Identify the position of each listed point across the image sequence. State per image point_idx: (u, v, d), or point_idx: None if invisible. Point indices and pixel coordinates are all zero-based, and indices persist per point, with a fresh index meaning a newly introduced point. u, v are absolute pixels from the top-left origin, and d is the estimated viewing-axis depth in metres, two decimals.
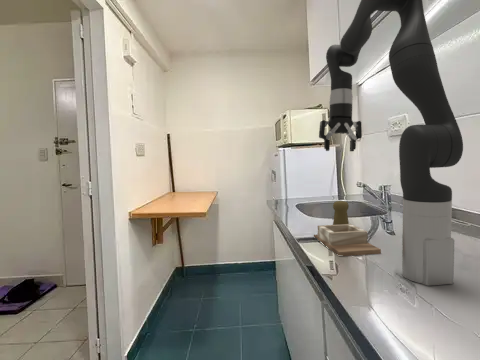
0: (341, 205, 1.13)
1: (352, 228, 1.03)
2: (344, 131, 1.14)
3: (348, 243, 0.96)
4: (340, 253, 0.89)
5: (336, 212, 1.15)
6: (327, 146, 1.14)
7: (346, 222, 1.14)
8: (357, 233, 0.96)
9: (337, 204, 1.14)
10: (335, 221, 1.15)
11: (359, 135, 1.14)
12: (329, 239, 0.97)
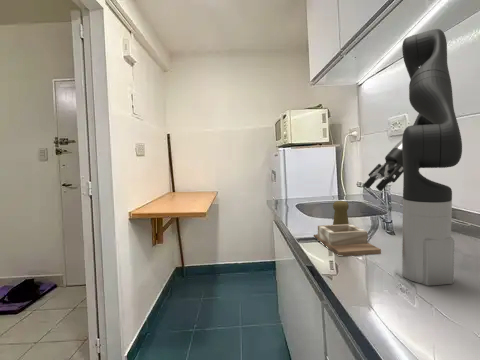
0: (341, 205, 1.13)
1: (352, 228, 1.03)
2: (384, 172, 1.16)
3: (348, 243, 0.96)
4: (340, 253, 0.89)
5: (336, 212, 1.15)
6: None
7: (346, 222, 1.14)
8: (357, 233, 0.96)
9: (337, 204, 1.14)
10: (335, 221, 1.15)
11: (389, 175, 1.10)
12: (329, 239, 0.97)
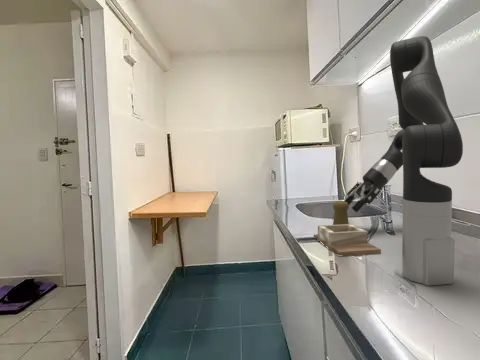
0: (341, 205, 1.13)
1: (352, 228, 1.03)
2: (360, 192, 1.15)
3: (348, 243, 0.96)
4: (340, 253, 0.89)
5: (336, 212, 1.15)
6: None
7: (346, 222, 1.14)
8: (357, 233, 0.96)
9: (337, 204, 1.14)
10: (335, 221, 1.15)
11: (365, 197, 1.10)
12: (329, 239, 0.97)
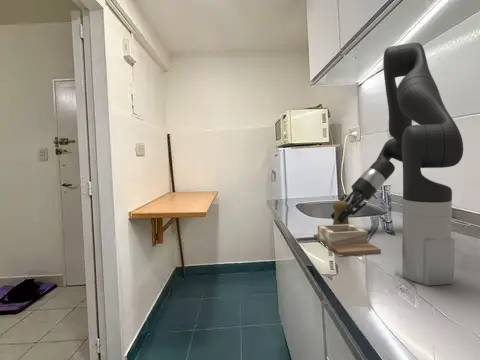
0: (341, 205, 1.13)
1: (352, 228, 1.03)
2: None
3: (348, 243, 0.96)
4: (340, 253, 0.89)
5: (336, 212, 1.15)
6: None
7: (346, 222, 1.14)
8: (357, 233, 0.96)
9: (337, 204, 1.14)
10: (335, 221, 1.15)
11: (349, 208, 1.11)
12: (329, 239, 0.97)
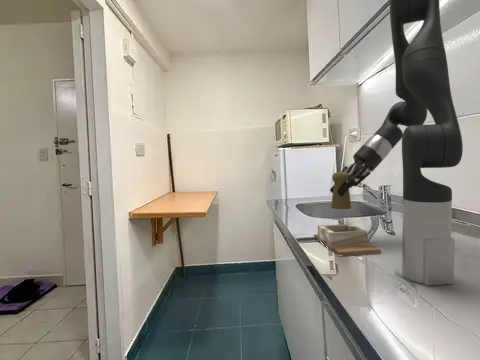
0: (342, 176, 0.99)
1: (352, 228, 1.03)
2: None
3: (348, 243, 0.96)
4: (340, 253, 0.89)
5: (336, 184, 1.00)
6: None
7: (347, 195, 1.00)
8: (357, 233, 0.96)
9: (337, 175, 0.99)
10: (335, 195, 1.01)
11: (351, 178, 0.97)
12: (329, 239, 0.97)
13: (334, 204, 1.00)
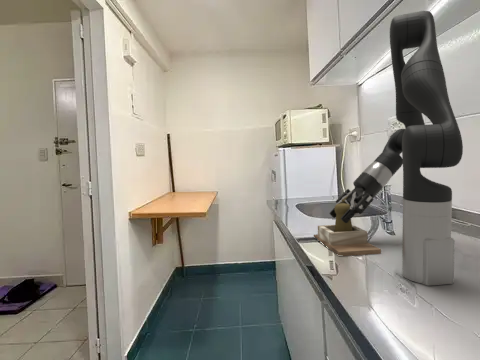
0: (343, 208, 0.99)
1: (352, 228, 1.03)
2: (351, 200, 1.00)
3: (348, 243, 0.96)
4: (340, 253, 0.89)
5: (338, 216, 1.01)
6: None
7: (349, 227, 1.00)
8: (357, 233, 0.96)
9: (339, 207, 1.00)
10: (337, 226, 1.01)
11: (356, 205, 0.95)
12: (329, 239, 0.97)
13: None
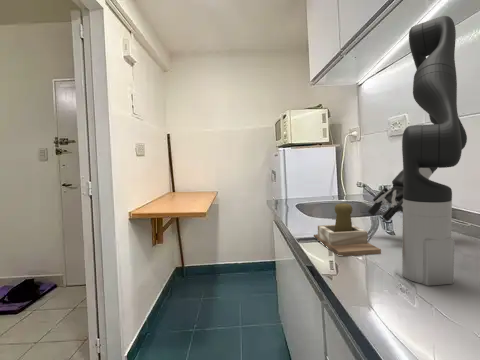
0: (344, 208, 0.99)
1: (352, 228, 1.03)
2: (391, 198, 1.01)
3: (348, 243, 0.96)
4: (340, 253, 0.89)
5: (338, 216, 1.01)
6: (370, 208, 1.07)
7: (349, 228, 1.00)
8: (357, 233, 0.96)
9: (339, 208, 1.00)
10: (337, 226, 1.01)
11: (398, 203, 0.96)
12: (329, 239, 0.97)
13: None
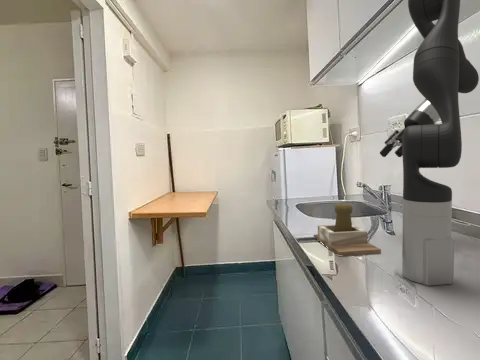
0: (344, 208, 0.99)
1: (352, 228, 1.03)
2: (403, 137, 1.03)
3: (348, 243, 0.96)
4: (340, 253, 0.89)
5: (338, 216, 1.01)
6: None
7: (349, 228, 1.00)
8: (357, 233, 0.96)
9: (339, 208, 1.00)
10: (337, 226, 1.01)
11: None
12: (329, 239, 0.97)
13: None
